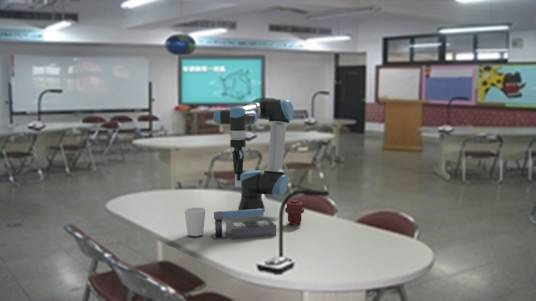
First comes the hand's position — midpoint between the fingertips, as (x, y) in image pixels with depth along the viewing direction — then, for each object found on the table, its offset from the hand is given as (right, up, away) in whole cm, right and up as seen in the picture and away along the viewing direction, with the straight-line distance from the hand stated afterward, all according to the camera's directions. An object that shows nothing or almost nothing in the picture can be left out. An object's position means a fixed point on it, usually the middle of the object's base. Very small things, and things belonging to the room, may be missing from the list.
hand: (238, 186), depth 267 cm
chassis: (+6, -23, -4) cm, 24 cm away
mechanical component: (+29, -21, +15) cm, 39 cm away
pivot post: (-9, -24, -8) cm, 26 cm away
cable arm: (+1, -14, -6) cm, 16 cm away
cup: (-20, -23, -6) cm, 32 cm away
